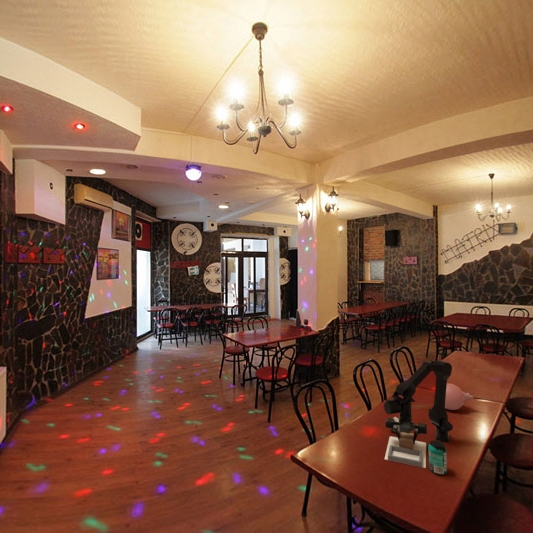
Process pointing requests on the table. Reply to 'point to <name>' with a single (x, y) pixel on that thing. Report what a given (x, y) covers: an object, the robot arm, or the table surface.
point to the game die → (396, 421)
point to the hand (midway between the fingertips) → (406, 443)
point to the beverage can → (437, 458)
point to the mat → (406, 453)
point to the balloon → (455, 397)
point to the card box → (406, 440)
